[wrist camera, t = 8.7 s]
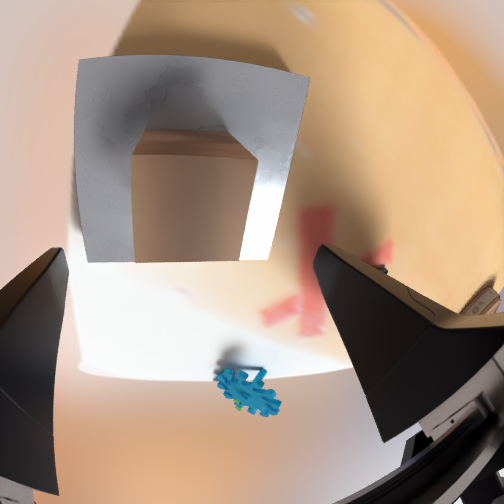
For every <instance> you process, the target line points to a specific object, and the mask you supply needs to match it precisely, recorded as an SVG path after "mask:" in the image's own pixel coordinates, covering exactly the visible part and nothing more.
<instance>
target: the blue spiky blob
mask: <svg viewBox="0 0 504 504" xmlns="http://www.w3.org/2000/svg"><path fill="white" fill-rule="evenodd" d="M266 373H267V371H266V370H265V369H261V370H260V371H259V373H258V374H257V376H256V377H255V379H254V380H253V382H247V381H245V380H246V379H247V377H248V374H247V373H245V372H243V371H241V370H240V371H239V372H238V374H237V375H236V377H237V379H236V378H235V377H234V376H233V375H234V374H235V373H234V371H233V370H231V369H226V370H225V371H224V372H221V373H220V374H219V375H218V376H217V377H216V378H217V379H218V380H219V383H218V384H217V385H218V387H219V388H220V389H223V390H225V392H224V393H223V394H224V396H225V397H226V398H228V399H230V398H231V399H234V404H235V405H236V409H237V410H239V411H241V410H242V409H243V407H244V406H249V409H248V410H247V411H248V412H249V413H251V414H255V413H256V411H257V409H259V410H260V411H261V412H260V415H262V416H264V417H268V416H269V414H271V415H277V414H278V412H279V409H278V408H279V407H280V405H281V401H279V400H276V399H274V398H275V397H276V393H275V391H274V390H272V389H269V390H265V389H261V388H262V387H263V385H264V382H263V381H262V379H263V378H264V376H265V375H266Z"/></svg>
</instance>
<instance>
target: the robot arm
mask: <svg viewBox="0 0 504 504" xmlns="http://www.w3.org/2000/svg"><path fill="white" fill-rule="evenodd" d="M313 268H314V271H315V274H316V277H317V279H318V282H319V285H320V288H321V291H322V294H323V297H324V300H325V302H326V305H327V307H328V309H329V311H330V313H331V316H332V318H333V320H334V322H335V325H336V327H337V329H338V331H339V334H340V336H341V338H342V341H343V343H344V345H345V348H346V350H347V352H348V355H349V357H350V359H351V362H352V364H353V367H354V369H355V371H356V374H357V376H358V379H359V381H360V383H361V386H362V389H363V391H364V394H365V395H366V399H367V401H368V404H369V407H370V409H371V412H372V414H373V417H374V419H375V422H376V425H377V428H378V430H379V433H380V436H381V438H382V441H383V442H384V443H385V442H387V441H389V440H390V439H392V438H394V437H396V436H397V435H399V434H400V433H402V432H404V431H405V430H407V429H408V428H410V427H411V426H413V425H415V424H416V423H417V422H418V423H419V424H420V426H421V428H422V430H421V431H419V432H418V433H417V434H415V435H414V436H412V437H411V438H409V439H408V440H407V441H406V445H405V450H404V454H403V458H402V462H401V466H400V467H399V468H397V469H396V470H394V471H393V472H391V473H389V474H388V475H386V476H384V477H383V478H381V479H379V480H378V481H376V482H374V483H373V484H371V485H369V486H367V487H365V488H364V489H362V490H360V491H358V492H356V493H354V494H352V495H350V496H348V497H346V498H344V499H342V500H340V501H337V502H335V503H333V504H454V502H456V501H457V499H458V498H459V497H460V498H461V500H462V502H463V504H504V477H501V476H500V474H499V472H498V471H499V470H501V469H502V468H504V312H500V313H493V314H485V315H477V316H463V315H460V314H457V313H455V312H453V311H451V310H450V309H448V308H446V307H444V306H442V305H440V304H438V303H436V302H435V301H433V300H431V299H429V298H427V297H425V296H423V295H422V294H420V293H418V292H416V291H415V290H413V289H411V288H409V287H408V286H405V285H404V284H402V283H401V282H399V281H397V280H395V279H394V278H392V277H390V276H388V275H387V273H388V270H387V269H386V268H379V269H376V268H374V267H372V266H370V265H369V264H367V263H365V262H363V261H361V260H359V259H358V258H356V257H354V256H352V255H350V254H348V253H346V252H345V251H343V250H341V249H339V248H337V247H335V246H333V245H331V244H322V245H320V246H319V248H318V251H317V254H316V257H315V259H314V262H313ZM68 276H69V270H68V265H67V261H66V257H65V253H64V250H63V249H62V248H51V249H49V250H48V251H47V252H45V253H44V254H43V255H41V256H40V257H39V258H38V259H36V260H35V261H34V262H33V263H31V264H30V265H29V266H28V267H26V268H25V269H24V270H23V271H22V272H20V273H19V274H18V275H17V276H16V277H15V278H13V279H12V280H11V281H10V282H9V283H8V284H7V285H5V286H4V287H3V288H2V289H1V290H0V504H36V503H35V502H34V499H33V490H32V489H34V490H38V491H42V492H45V493H49V494H53V495H57V496H59V490H58V483H57V476H56V467H55V455H54V436H53V401H54V384H55V372H56V362H57V353H58V346H59V340H60V334H61V328H62V321H63V316H64V309H65V299H66V298H65V297H66V290H67V283H68Z"/></svg>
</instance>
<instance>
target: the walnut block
mask: <svg viewBox="0 0 504 504" xmlns="http://www.w3.org/2000/svg"><path fill="white" fill-rule="evenodd" d="M258 162H259V160H258V159H257V158H256V157H255V156H254V155H253V154H251V153H250V152H249V151H248V150H247V149H246V148H245V147H244V146H243V145H242V144H241V143H240V142H239V141H238V140H237V139H235V138H234V137H233V136H232V135H231V134H230V133H226V132H214V131H200V130H181V129H145V131H144V133H143V134H142V136H141V138H140V140H139V142H138V144H137V145H136V147H135V149H134V151H133V153H132V159H131V202H132V227H133V243H134V255H135V263H149V262H202V261H240V255H241V250H242V245H243V239H244V234H245V229H246V223H247V218H248V213H249V208H250V203H251V197H252V192H253V187H254V182H255V177H256V172H257V167H258Z"/></svg>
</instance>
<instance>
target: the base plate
mask: <svg viewBox="0 0 504 504" xmlns="http://www.w3.org/2000/svg"><path fill="white" fill-rule="evenodd" d="M309 82H310V78H309V77H306V76H302V75H298V74H295V73H291V72H287V71H283V70H278V69H274V68H269V67H265V66H260V65H255V64H249V63H243V62H237V61H230V60H223V59H215V58H206V57H195V56H179V55H124V56H109V57H98V58H89V59H82V60H79V65H78V74H77V83H76V96H75V116H74V154H75V173H76V186H77V197H78V206H79V213H80V221H81V227H82V234H83V239H84V245H85V250H86V255H87V260H88V262H135V255H134V243H133V227H132V202H131V159H132V153H133V151H134V149H135V147H136V145H137V144H138V142H139V140H140V138H141V136H142V134H143V133H144V131H145V129H181V130H200V131H214V132H226V133H230V134H231V135H232V136H233V137H234V138H235V139H237V140H238V141H239V142H240V143H241V144H242V145H243V146H244V147H245V148H246V149H247V150H248V151H249V152H250V153H251V154H253V155H254V156H255V157H256V158H257V159H258V160H259V162H258V167H257V172H256V177H255V182H254V187H253V192H252V197H251V203H250V208H249V213H248V218H247V223H246V229H245V234H244V239H243V245H242V250H241V255H240V260H246V259H267V258H268V254H269V250H270V246H271V242H272V238H273V234H274V230H275V226H276V222H277V218H278V214H279V210H280V206H281V202H282V198H283V194H284V190H285V186H286V182H287V177H288V173H289V169H290V165H291V161H292V156H293V152H294V148H295V144H296V139H297V135H298V131H299V126H300V122H301V118H302V113H303V109H304V104H305V100H306V95H307V91H308V86H309Z"/></svg>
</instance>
